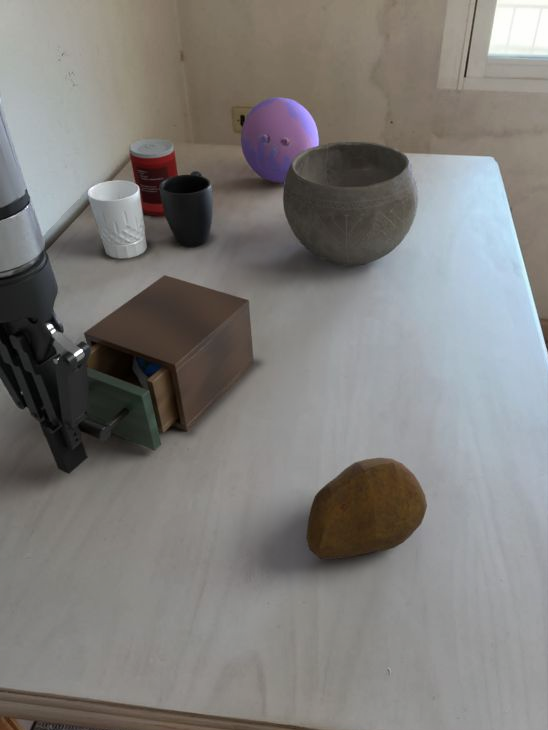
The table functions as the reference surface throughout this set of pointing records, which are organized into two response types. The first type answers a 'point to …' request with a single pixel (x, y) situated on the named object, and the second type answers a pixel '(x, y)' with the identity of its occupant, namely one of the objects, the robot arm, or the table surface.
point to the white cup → (119, 217)
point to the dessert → (144, 370)
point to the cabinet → (184, 340)
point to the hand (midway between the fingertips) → (73, 463)
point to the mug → (188, 207)
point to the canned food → (152, 171)
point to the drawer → (127, 399)
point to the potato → (365, 510)
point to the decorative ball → (276, 137)
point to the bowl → (350, 200)
